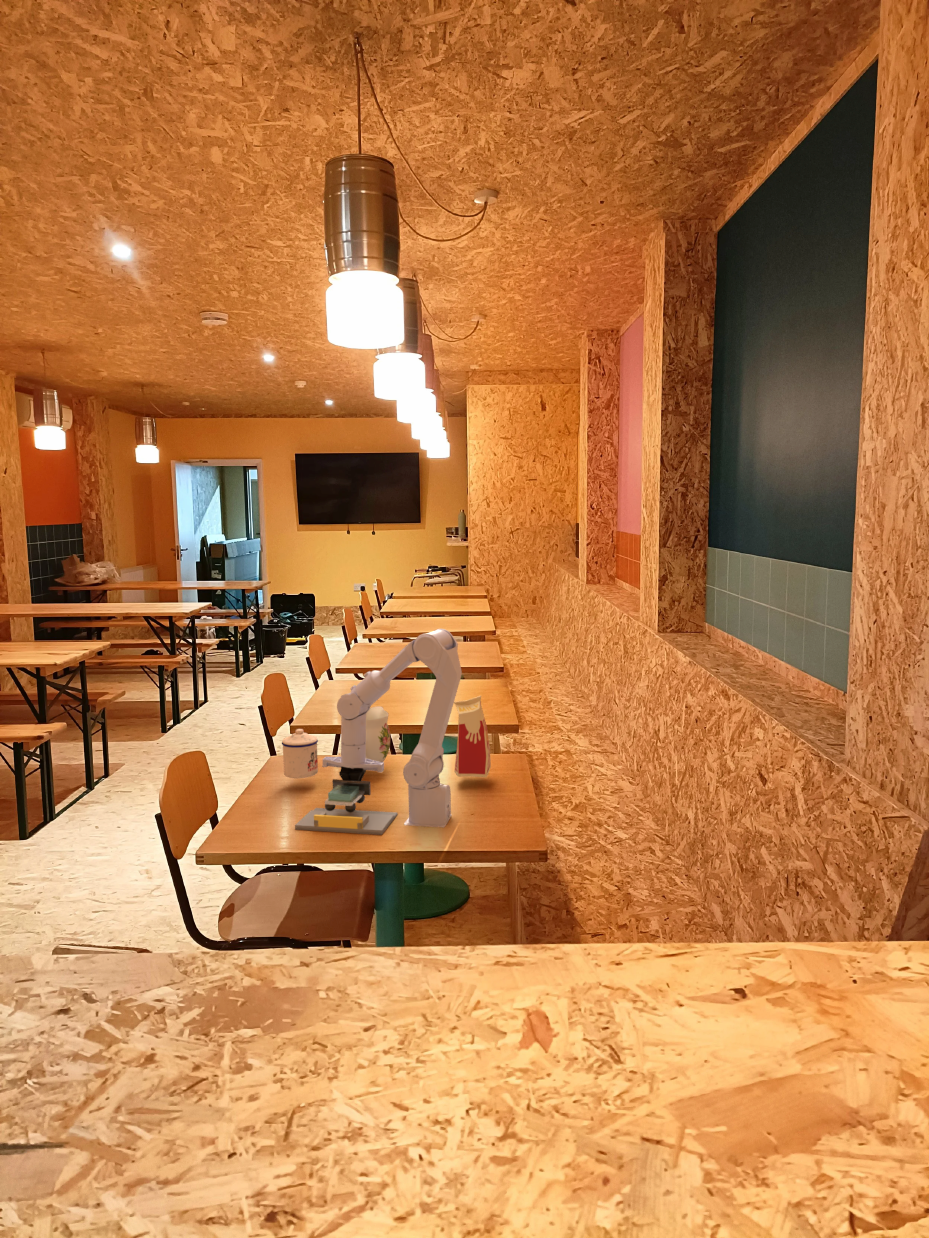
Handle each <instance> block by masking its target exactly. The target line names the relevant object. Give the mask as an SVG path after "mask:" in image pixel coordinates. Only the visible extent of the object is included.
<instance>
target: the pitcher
mask: <svg viewBox="0 0 929 1238" xmlns="http://www.w3.org/2000/svg"><path fill="white" fill-rule="evenodd" d="M388 720H389V712H388V711H386V710H385V709H384V707H383V706H378V705H377V706H373V707H370V709H369V711H368V712H367V713H366V759H370V760H374V761H379V762H384V761H385V760H386V758H387V756H388V753H389V752H390V751H389V750H390V746H391V731H390V726H389V724H388Z"/></svg>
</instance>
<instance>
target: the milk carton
mask: <svg viewBox="0 0 929 1238" xmlns="http://www.w3.org/2000/svg"><path fill="white" fill-rule="evenodd" d="M481 700H482V695H478V696H476V697H472V698H469V699H467V700H458V701H454V704H453V705H455V707H456V710H457V714H458V720H457V721H458V725H457V730H458V731H457V742H456V753H455V763H454V774H456V776H457V777H463V778H464V777H468V778H469V777H470V778H487V777H488V775H489V773H490V769H491V768H492V766H491V747H490V746H491V745H490V739H489V732H488V726H487V721H486V718H485V714H484V710H483V708H482V701H481Z"/></svg>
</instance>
